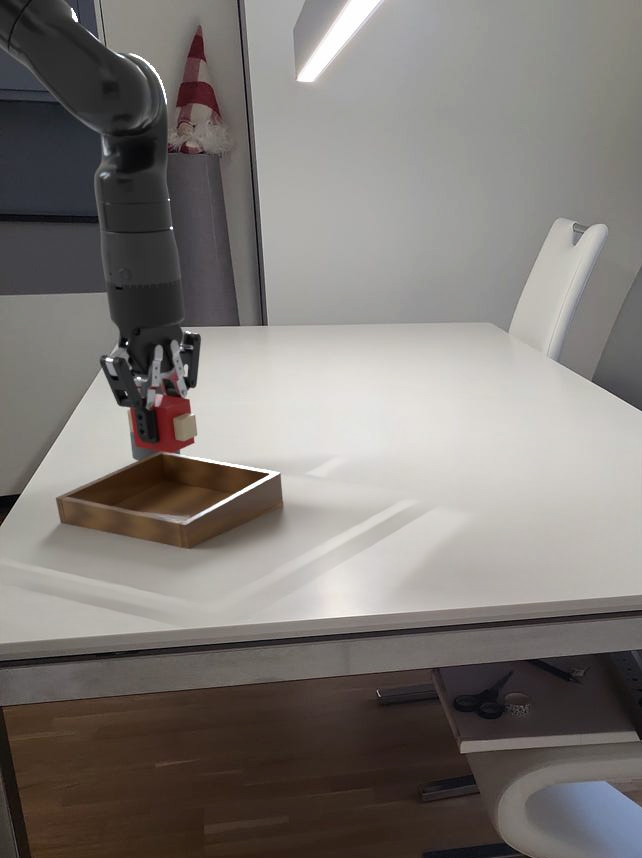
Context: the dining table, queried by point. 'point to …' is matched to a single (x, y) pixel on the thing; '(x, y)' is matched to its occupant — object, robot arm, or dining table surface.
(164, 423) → the red and beige block
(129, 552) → the dining table surface
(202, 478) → the wooden tray
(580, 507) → the dining table surface
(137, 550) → the dining table surface
